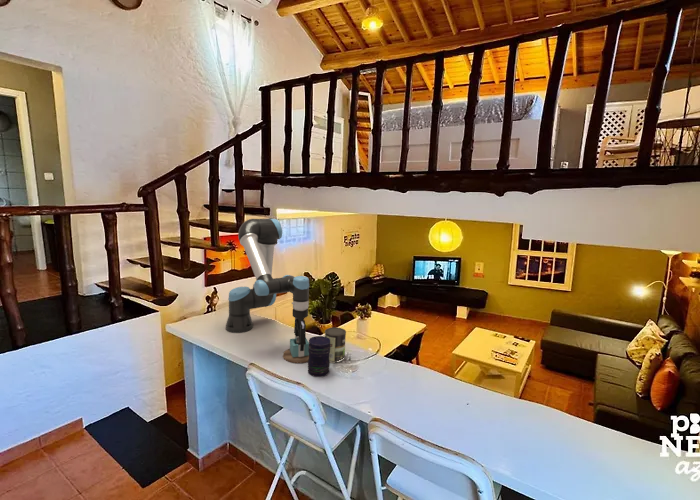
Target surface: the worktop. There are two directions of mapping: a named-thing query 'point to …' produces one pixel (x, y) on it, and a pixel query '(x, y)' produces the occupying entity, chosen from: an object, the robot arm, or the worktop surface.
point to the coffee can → (336, 343)
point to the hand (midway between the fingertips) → (299, 352)
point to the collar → (295, 347)
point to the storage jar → (319, 356)
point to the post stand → (289, 358)
